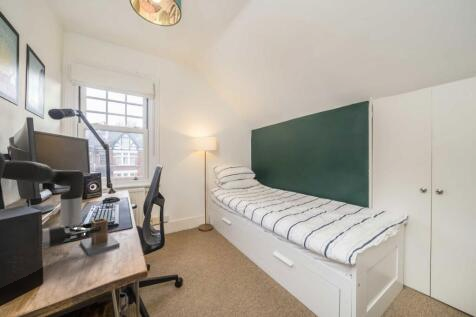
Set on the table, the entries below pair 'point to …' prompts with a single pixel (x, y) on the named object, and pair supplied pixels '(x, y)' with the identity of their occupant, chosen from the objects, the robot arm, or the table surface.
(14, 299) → the table surface
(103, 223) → the sleeve
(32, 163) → the robot arm
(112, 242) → the plate
